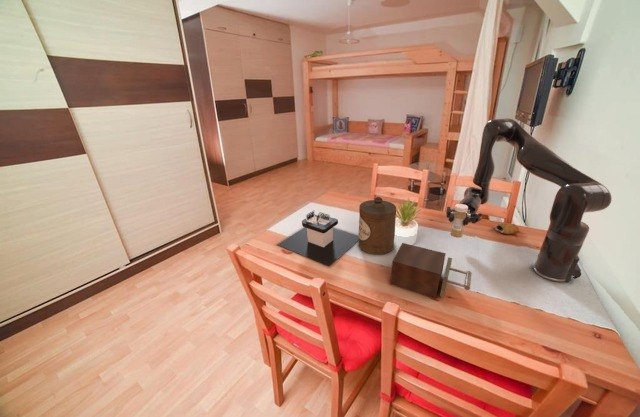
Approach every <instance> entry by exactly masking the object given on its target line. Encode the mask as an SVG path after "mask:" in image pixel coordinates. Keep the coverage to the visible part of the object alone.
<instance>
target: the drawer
mask: <svg viewBox="0 0 640 417" xmlns="http://www.w3.org/2000/svg"><path fill="white" fill-rule="evenodd" d="M452 262H453V258H452V257H449V256H448V258H447V261H446V266H445V269H444V274H443V278H442V284H441V288H440V294H439V297H441V298H445V294H446V290H447V285H448V284H451V285H454V286H458V287H461V288H464V290H466V291H470V290H471V283H472V271H471V270H466V271H465V270H461V269H457V268H453V267H451V266H452ZM450 271H451V272H456V273H459V274H463V275H465V276H464V284H463V283H460V282H456V281H453V280H449V277H450ZM440 275H441V274H440ZM441 276H442V275H441Z"/></svg>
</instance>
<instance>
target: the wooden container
mask: <svg viewBox="0 0 640 417" xmlns="http://www.w3.org/2000/svg"><path fill="white" fill-rule="evenodd" d="M358 212H359V215H358V216H359V217H358V236H359V240H358V247H359V248H360V249H361V250H362V251H363V252H365V253H368V254H371V255H385V254H388V253H390V252H392V250H393V249H394V247H395V246H394V245H395V235H396V220H397V219H396V216H397V206H396V204H394V203H393V202H390V201H387V200H383V198H382V197H381V196H376V197H374V198H373V199H369V200H364V201H363V202H361V203H360V204H359V210H358Z"/></svg>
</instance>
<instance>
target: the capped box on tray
mask: <svg viewBox="0 0 640 417" xmlns="http://www.w3.org/2000/svg"><path fill="white" fill-rule="evenodd" d="M338 224H339V219H338V218H335V217H331V214H328V213H325V212H321V211H319V212H318V214H315V210H314V209H313V210H312V211H310V212H309V213H306V214H305V218H304V219H302V221H301V226H302V227H303V228H301V229H300V230H298V231H297V232H295V233H293V234H292V235H290V236H289V237H287V238H285V239H284V240H281V242H279V243H277V246H280V247H282V248H285V249H287V250H289V251H291V252H293V253H296V254H299V255H301V256H303V257H306V258H308V259H310V260H312V261H315V262H317V263H320V264H322V265H324V266H328V267H331V265H333V264H334V263H335V262H336V261H337V260H338V259H339V258H341V256H343V255H344V254H345V253H346V252H347V251H348V250H349V249H350V248H352V247H353V246H354V245H355V244H357V242H359V234H358V235H357V234H355V233H351V232H348V231H345V230H342V229H339V228H335V227H336V226H337V225H338Z"/></svg>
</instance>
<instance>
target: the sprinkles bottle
mask: <svg viewBox="0 0 640 417" xmlns="http://www.w3.org/2000/svg"><path fill="white" fill-rule="evenodd" d="M454 208H455V212H454V217H453V221H452V222H451V230H450V234H449V235H450V236H451V237H452V238H457V239H459V238H462V237H463V232H464V228H465V226H464V225H463V223H464V220H465V218H466V213H467V211H468V206H467V205H464V204H459V203H457V204H455V205H454Z"/></svg>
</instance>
